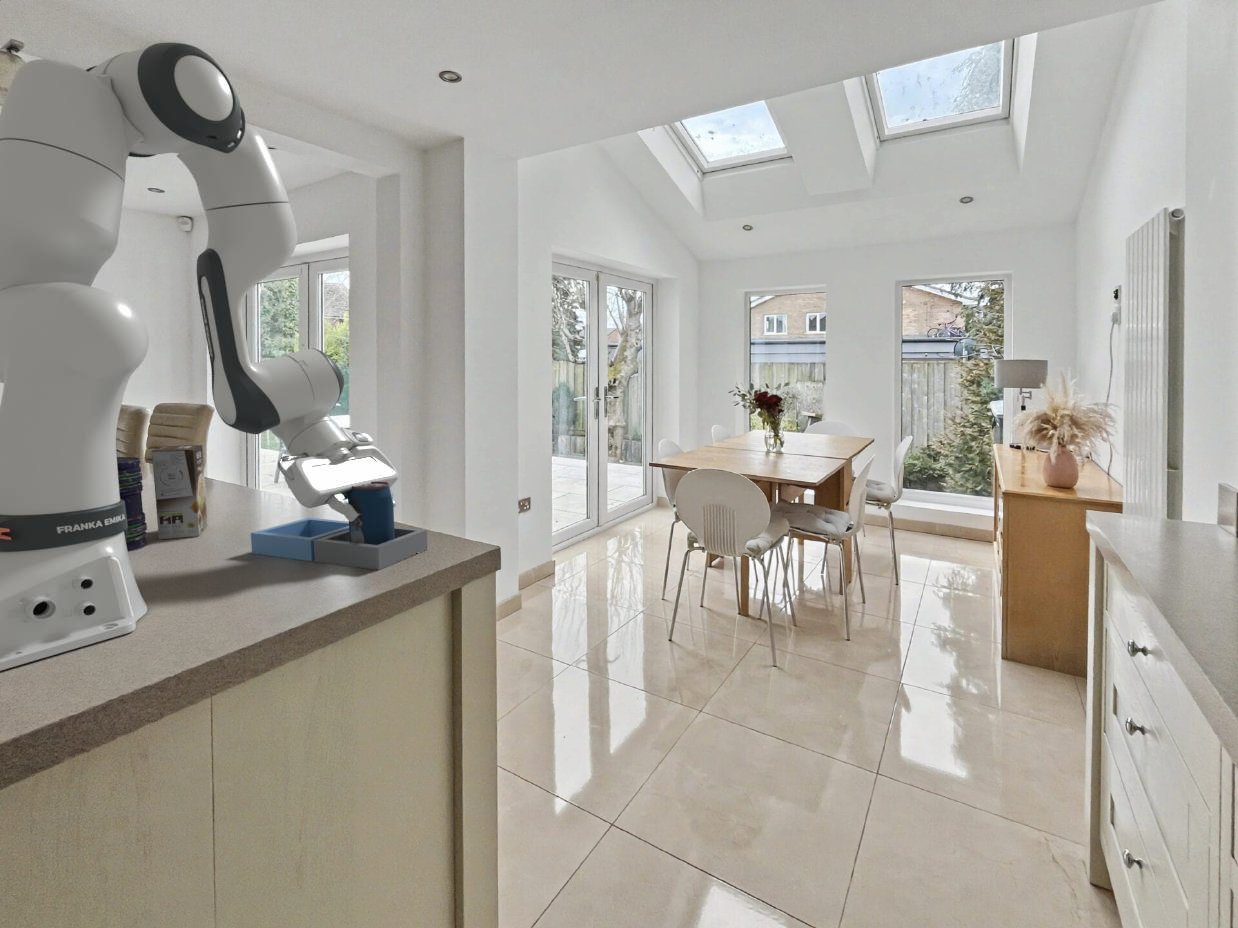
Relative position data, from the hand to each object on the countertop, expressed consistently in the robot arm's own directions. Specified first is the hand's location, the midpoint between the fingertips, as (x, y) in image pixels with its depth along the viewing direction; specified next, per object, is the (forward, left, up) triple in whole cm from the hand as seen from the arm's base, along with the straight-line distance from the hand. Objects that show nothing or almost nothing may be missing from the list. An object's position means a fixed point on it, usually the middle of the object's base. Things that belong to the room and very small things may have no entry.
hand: (374, 513), depth 103 cm
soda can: (0, +1, -7) cm, 7 cm away
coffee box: (0, +43, -7) cm, 44 cm away
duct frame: (0, +7, -7) cm, 10 cm away
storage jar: (-12, +44, -7) cm, 46 cm away
